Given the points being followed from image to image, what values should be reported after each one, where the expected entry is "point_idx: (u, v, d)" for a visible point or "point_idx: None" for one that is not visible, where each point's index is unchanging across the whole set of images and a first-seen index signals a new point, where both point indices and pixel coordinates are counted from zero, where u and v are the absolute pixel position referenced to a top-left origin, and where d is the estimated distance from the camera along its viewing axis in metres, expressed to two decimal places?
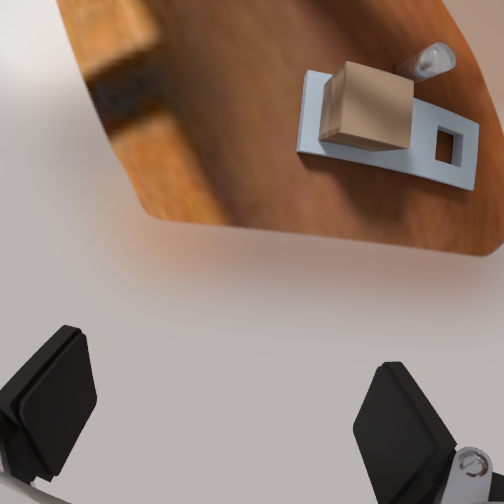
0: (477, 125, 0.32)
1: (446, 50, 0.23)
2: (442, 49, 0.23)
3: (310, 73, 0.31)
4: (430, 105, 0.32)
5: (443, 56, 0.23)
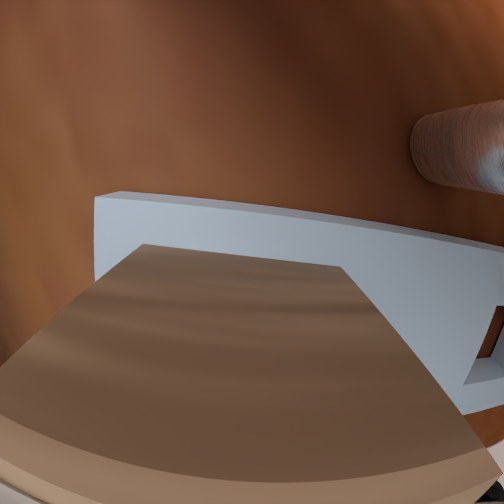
0: None
1: None
2: None
3: (101, 208, 0.10)
4: (494, 257, 0.11)
5: None
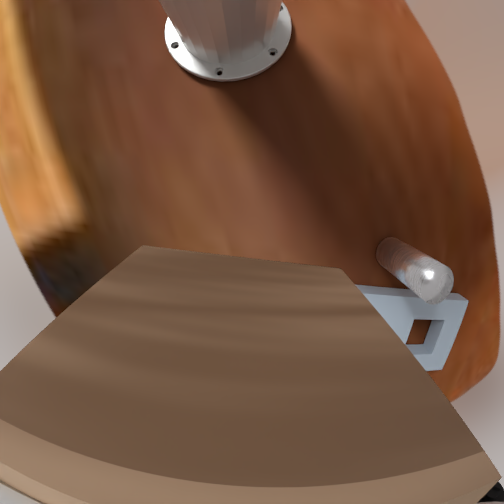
0: (466, 303, 0.31)
1: (443, 275, 0.21)
2: (438, 276, 0.21)
3: None
4: (410, 299, 0.30)
5: (435, 287, 0.22)
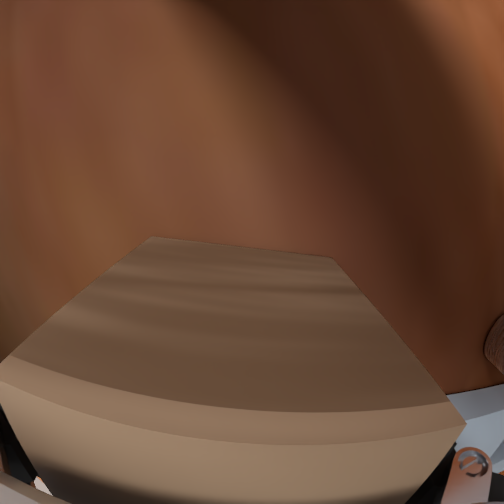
0: None
1: None
2: None
3: None
4: None
5: None
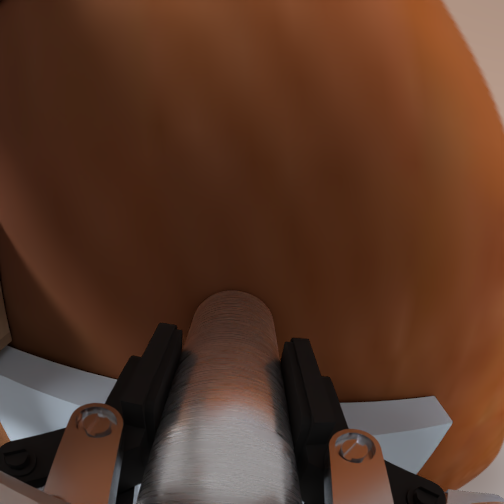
0: (446, 427, 0.12)
1: None
2: None
3: None
4: None
5: None
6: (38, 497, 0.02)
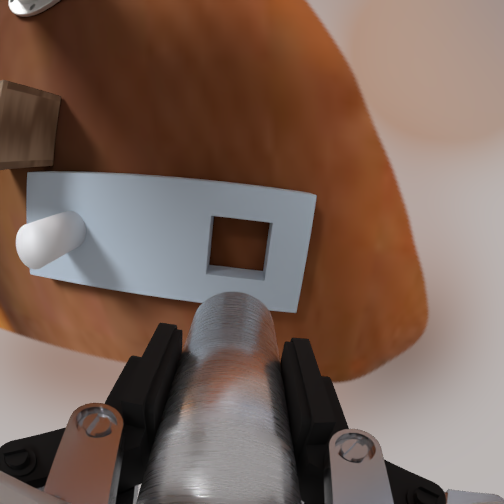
0: (312, 199, 0.24)
1: None
2: None
3: (29, 176, 0.22)
4: (196, 183, 0.23)
5: None
6: (38, 497, 0.02)
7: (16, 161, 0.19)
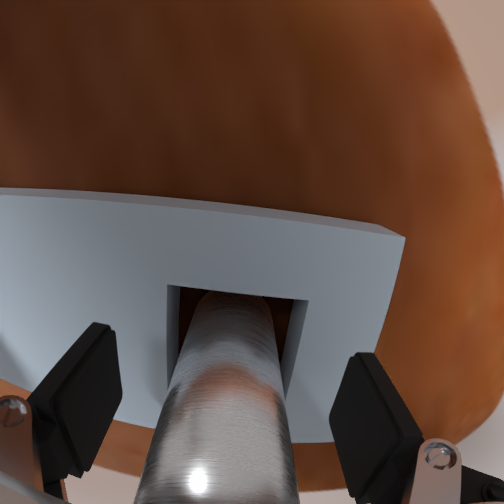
0: (397, 245, 0.10)
1: None
2: None
3: None
4: (131, 211, 0.10)
5: None
6: (38, 497, 0.02)
7: None
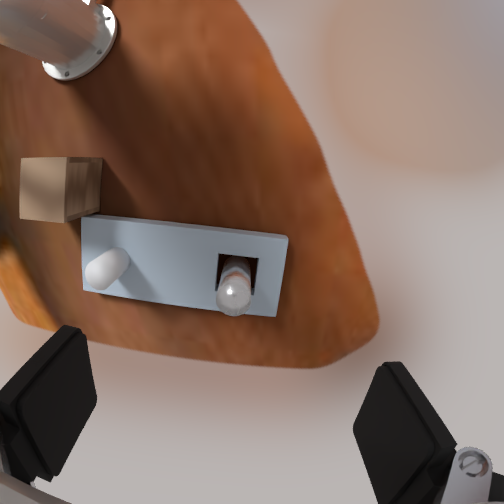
0: (285, 242, 0.36)
1: (237, 292, 0.30)
2: (231, 293, 0.30)
3: (83, 220, 0.35)
4: (208, 232, 0.36)
5: (231, 302, 0.30)
6: (38, 497, 0.02)
7: (77, 213, 0.31)
